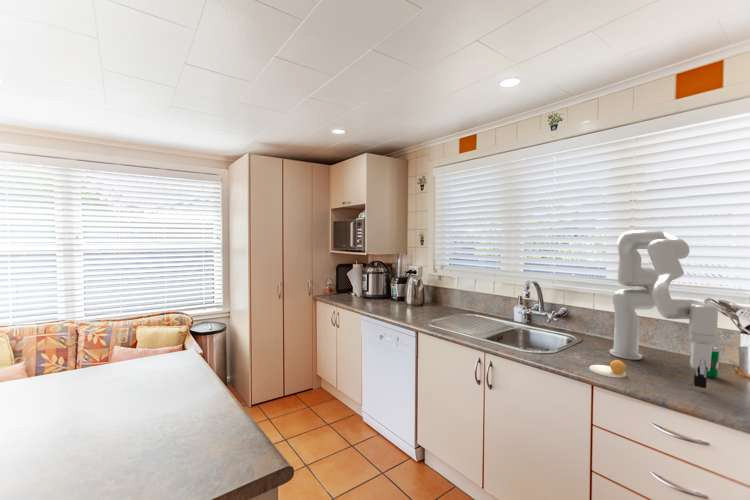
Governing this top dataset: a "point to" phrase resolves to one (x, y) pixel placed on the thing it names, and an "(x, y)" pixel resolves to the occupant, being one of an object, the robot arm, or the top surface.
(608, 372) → the disc
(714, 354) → the soda can
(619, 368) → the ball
